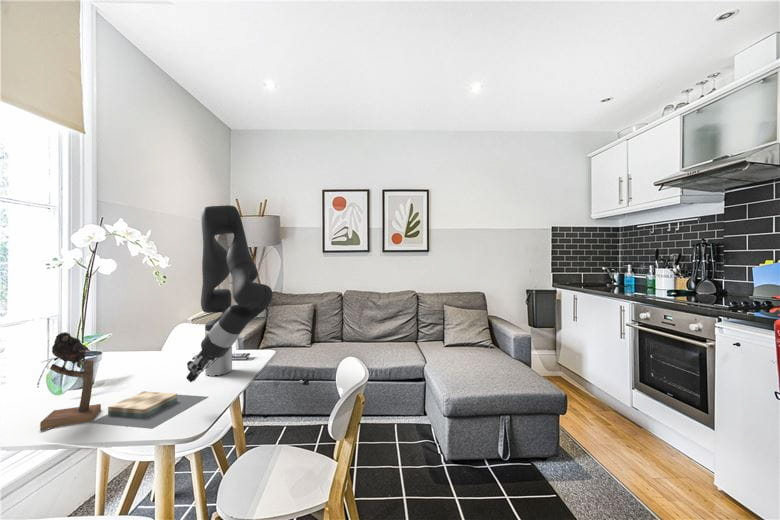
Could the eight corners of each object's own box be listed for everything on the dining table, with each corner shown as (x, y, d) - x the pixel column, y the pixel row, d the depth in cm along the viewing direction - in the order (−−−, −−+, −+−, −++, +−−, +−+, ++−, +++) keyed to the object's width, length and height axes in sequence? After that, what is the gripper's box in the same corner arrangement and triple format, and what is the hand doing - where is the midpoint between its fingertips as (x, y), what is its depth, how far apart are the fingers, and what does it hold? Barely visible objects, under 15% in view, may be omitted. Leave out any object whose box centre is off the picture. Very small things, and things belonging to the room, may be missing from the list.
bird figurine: (107, 403, 110) (107, 323, 110) (91, 422, 97) (91, 331, 97) (62, 409, 106) (62, 326, 106) (40, 430, 93) (40, 335, 93)
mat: (155, 394, 118) (155, 392, 118) (208, 397, 114) (208, 396, 114) (88, 424, 96) (88, 422, 96) (152, 430, 93) (152, 428, 93)
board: (177, 401, 111) (144, 398, 113) (177, 393, 111) (144, 391, 113) (144, 418, 99) (108, 415, 101) (144, 409, 99) (108, 406, 101)
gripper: (227, 323, 109) (197, 363, 112) (196, 335, 96) (163, 379, 99) (244, 339, 108) (213, 379, 111) (215, 353, 95) (182, 398, 98)
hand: (190, 379), depth 105 cm, fingers closed
